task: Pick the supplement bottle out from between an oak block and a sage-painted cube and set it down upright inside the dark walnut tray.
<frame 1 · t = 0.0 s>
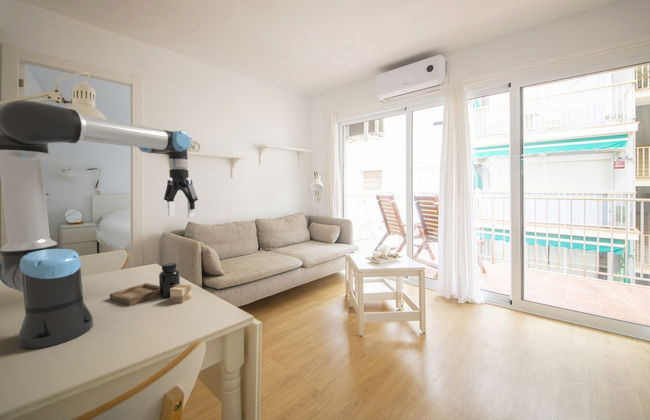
hand: (181, 216, 125), 28 cm above the table, fingers open, 13 cm apart
sage cube: (171, 287, 113), on the table
oak block: (181, 299, 101), on the table
supplement bottle: (170, 295, 105), on the table
walnut tray: (138, 295, 105), on the table
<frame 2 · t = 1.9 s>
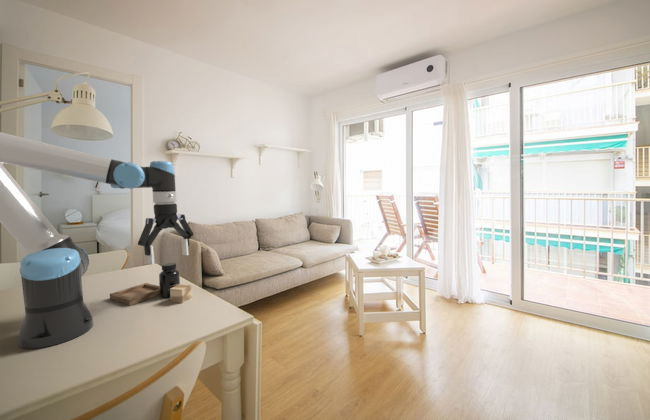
hand: (169, 259, 104), 14 cm above the table, fingers open, 13 cm apart
nothing on the table moved.
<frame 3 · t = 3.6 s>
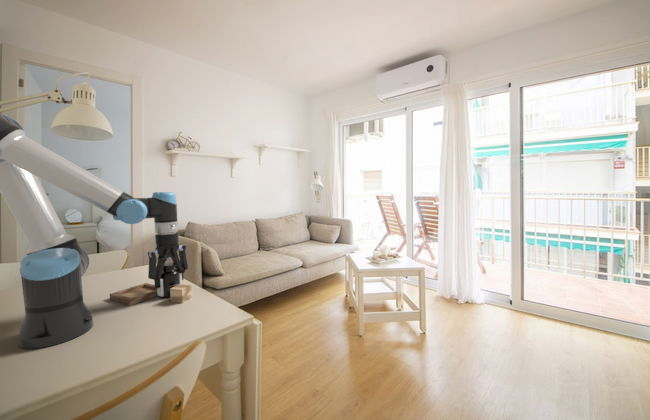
hand: (170, 292, 105), 1 cm above the table, fingers closed on supplement bottle, 7 cm apart
supplement bottle: (170, 295, 105), on the table, touching gripper
everything else where it was.
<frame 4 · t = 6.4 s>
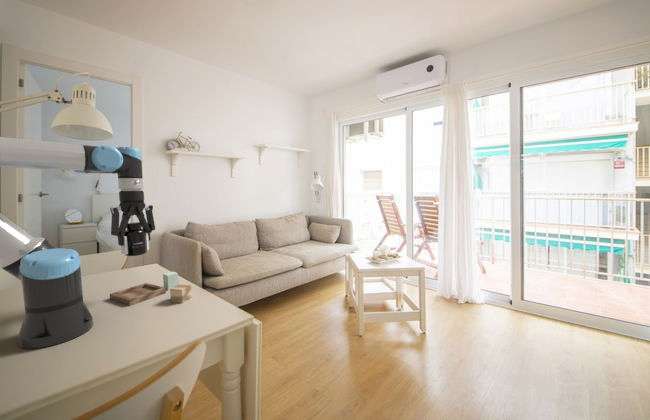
hand: (135, 251, 103), 17 cm above the table, fingers closed on supplement bottle, 7 cm apart
supplement bottle: (136, 254, 103), point 16 cm above the table, touching gripper
everything else where it was.
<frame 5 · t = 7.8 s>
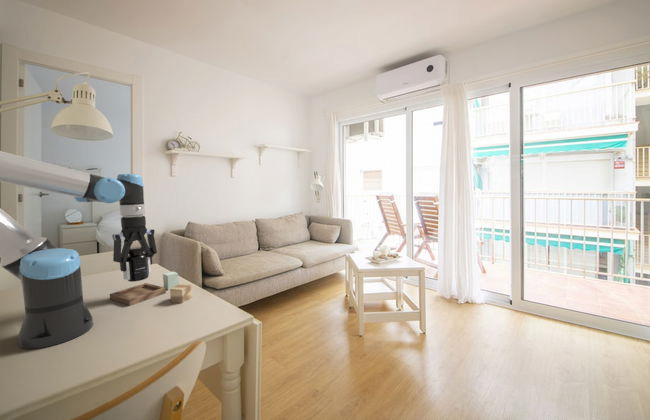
hand: (137, 276, 104), 8 cm above the table, fingers closed on supplement bottle, 7 cm apart
supplement bottle: (138, 279, 104), point 6 cm above the table, touching gripper
everything else where it was.
when the fingers open (3 cm above the table, at t = 9.1 s): supplement bottle drops 2 cm, resting on walnut tray.
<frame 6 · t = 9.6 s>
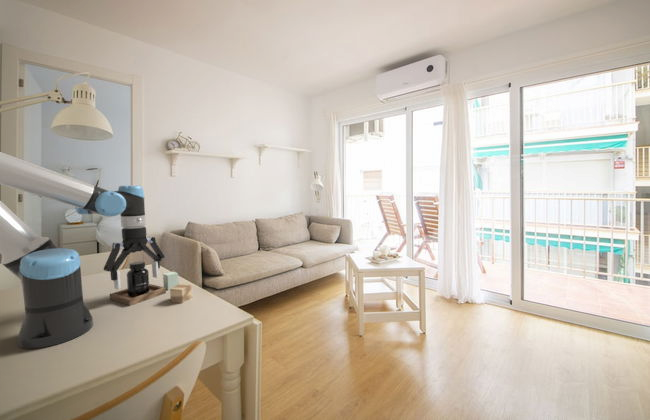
hand: (137, 282, 104), 5 cm above the table, fingers open, 13 cm apart
supplement bottle: (139, 294, 104), point 1 cm above the table, touching walnut tray
everything else where it was.
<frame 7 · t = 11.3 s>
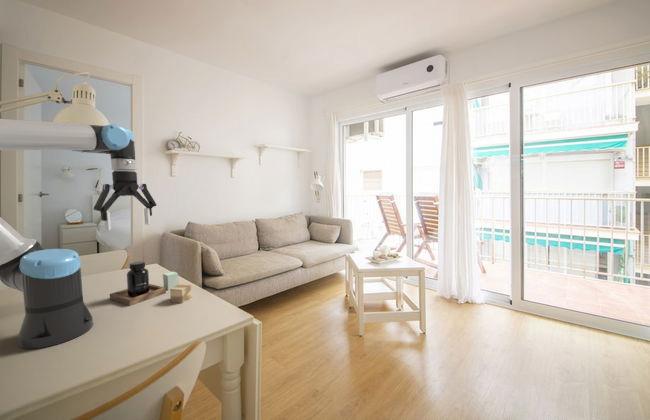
hand: (129, 226, 106), 26 cm above the table, fingers open, 13 cm apart
nothing on the table moved.
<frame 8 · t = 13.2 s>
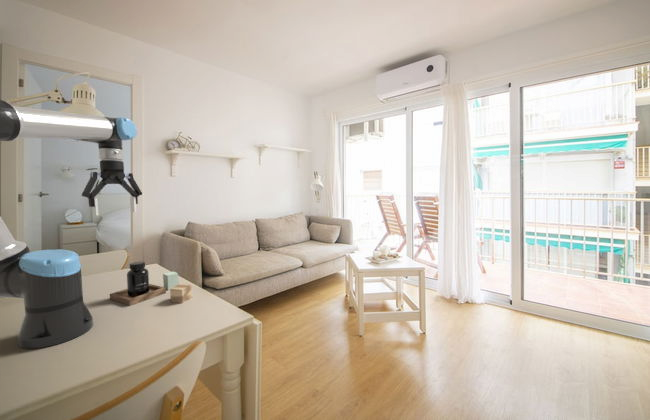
hand: (115, 213, 111), 31 cm above the table, fingers open, 13 cm apart
nothing on the table moved.
at the end: supplement bottle inside the target area on the walnut tray (0.2 cm from its centre), point 0.6 cm above the walnut tray's base; supplement bottle tilted 0°; the gripper is holding nothing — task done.
